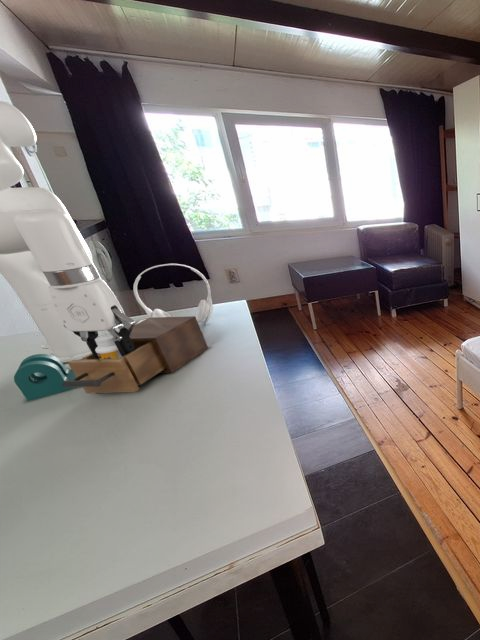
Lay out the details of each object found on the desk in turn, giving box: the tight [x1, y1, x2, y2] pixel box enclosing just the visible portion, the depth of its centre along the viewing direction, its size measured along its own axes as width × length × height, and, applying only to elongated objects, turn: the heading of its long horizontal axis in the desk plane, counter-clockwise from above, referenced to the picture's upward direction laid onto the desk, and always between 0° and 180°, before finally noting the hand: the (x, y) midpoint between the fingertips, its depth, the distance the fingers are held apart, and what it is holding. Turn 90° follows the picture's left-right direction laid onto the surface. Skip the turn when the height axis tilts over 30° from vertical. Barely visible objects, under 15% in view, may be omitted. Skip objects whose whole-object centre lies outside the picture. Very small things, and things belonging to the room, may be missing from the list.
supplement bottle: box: [95, 333, 134, 378], centre depth 83 cm, size 6×6×10 cm
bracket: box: [13, 353, 78, 402], centre depth 86 cm, size 18×7×8 cm, turn 131°
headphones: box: [133, 263, 214, 325], centre depth 112 cm, size 7×18×20 cm, turn 127°
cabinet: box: [130, 315, 209, 374], centre depth 94 cm, size 14×13×10 cm
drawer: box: [62, 341, 166, 394], centre depth 82 cm, size 17×11×8 cm, turn 178°
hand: (116, 353), depth 82 cm, fingers closed on supplement bottle, 5 cm apart
